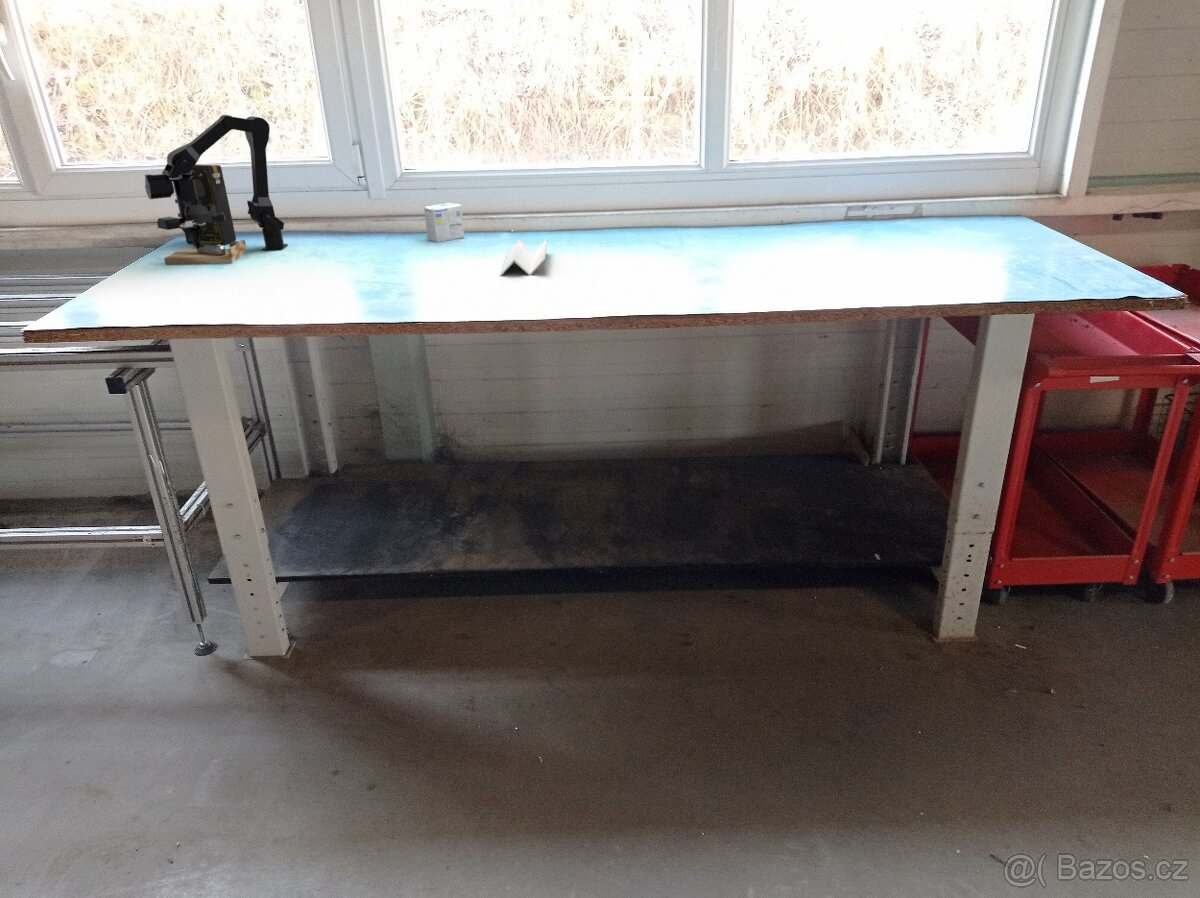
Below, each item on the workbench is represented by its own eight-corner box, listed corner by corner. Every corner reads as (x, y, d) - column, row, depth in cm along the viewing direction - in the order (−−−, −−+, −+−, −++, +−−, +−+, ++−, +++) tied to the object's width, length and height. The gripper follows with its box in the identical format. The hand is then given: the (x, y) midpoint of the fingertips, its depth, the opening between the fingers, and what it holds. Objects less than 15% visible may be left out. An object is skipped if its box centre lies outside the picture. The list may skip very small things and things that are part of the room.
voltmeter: (183, 244, 282) (165, 166, 271) (201, 239, 289) (184, 162, 278) (223, 247, 278) (206, 167, 266) (240, 241, 285) (224, 163, 274)
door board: (182, 255, 268) (179, 241, 266) (247, 253, 269) (245, 239, 267) (165, 264, 257) (162, 250, 255) (233, 263, 258) (230, 249, 256)
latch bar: (228, 253, 259) (226, 244, 258) (219, 255, 257) (217, 246, 256) (204, 249, 264) (202, 240, 263) (195, 252, 262) (193, 243, 260)
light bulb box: (454, 234, 288) (451, 201, 283) (465, 237, 283) (462, 204, 278) (426, 239, 282) (423, 206, 277) (436, 242, 277) (433, 209, 272)
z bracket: (516, 290, 241) (499, 275, 239) (520, 268, 263) (505, 254, 261) (544, 260, 237) (528, 244, 235) (547, 240, 259) (532, 225, 257)
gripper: (171, 202, 242) (182, 257, 249) (230, 194, 256) (240, 246, 262) (150, 199, 248) (162, 252, 255) (209, 191, 262) (220, 242, 268)
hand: (197, 248), depth 260 cm, fingers closed
